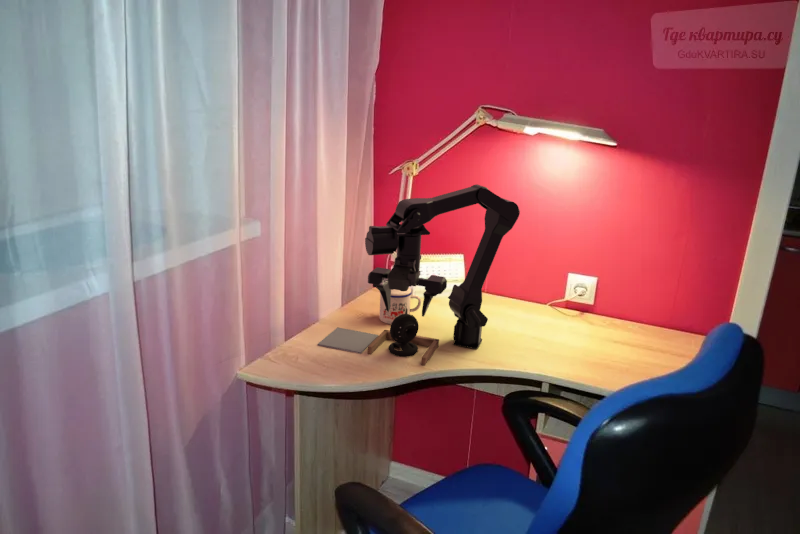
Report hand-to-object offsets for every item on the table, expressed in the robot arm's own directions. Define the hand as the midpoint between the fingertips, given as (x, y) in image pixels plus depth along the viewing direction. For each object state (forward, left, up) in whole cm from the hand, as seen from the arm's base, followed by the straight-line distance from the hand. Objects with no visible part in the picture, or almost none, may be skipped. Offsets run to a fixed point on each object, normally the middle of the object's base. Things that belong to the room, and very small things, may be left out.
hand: (405, 313), depth 148 cm
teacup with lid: (+8, -20, -11) cm, 24 cm away
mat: (+15, 0, -10) cm, 18 cm away
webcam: (0, 0, -11) cm, 11 cm away
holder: (0, 0, -10) cm, 10 cm away
